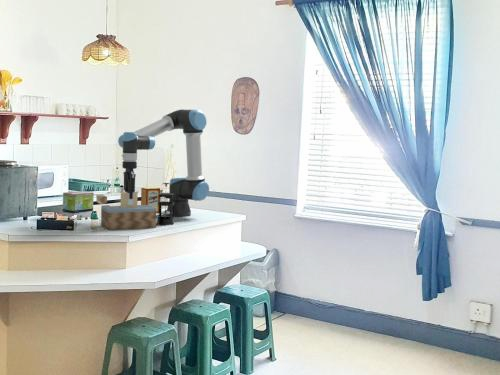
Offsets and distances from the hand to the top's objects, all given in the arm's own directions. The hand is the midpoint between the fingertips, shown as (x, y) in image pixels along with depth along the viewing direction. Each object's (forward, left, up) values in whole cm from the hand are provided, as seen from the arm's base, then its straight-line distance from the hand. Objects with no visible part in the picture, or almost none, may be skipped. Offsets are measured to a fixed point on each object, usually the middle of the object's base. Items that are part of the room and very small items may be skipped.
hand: (128, 204), depth 332 cm
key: (+10, -17, -1) cm, 20 cm away
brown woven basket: (0, -1, -12) cm, 12 cm away
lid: (0, 0, -5) cm, 5 cm away
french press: (-23, -4, -12) cm, 26 cm away
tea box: (+18, -38, -12) cm, 44 cm away
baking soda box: (-28, -44, -12) cm, 54 cm away
